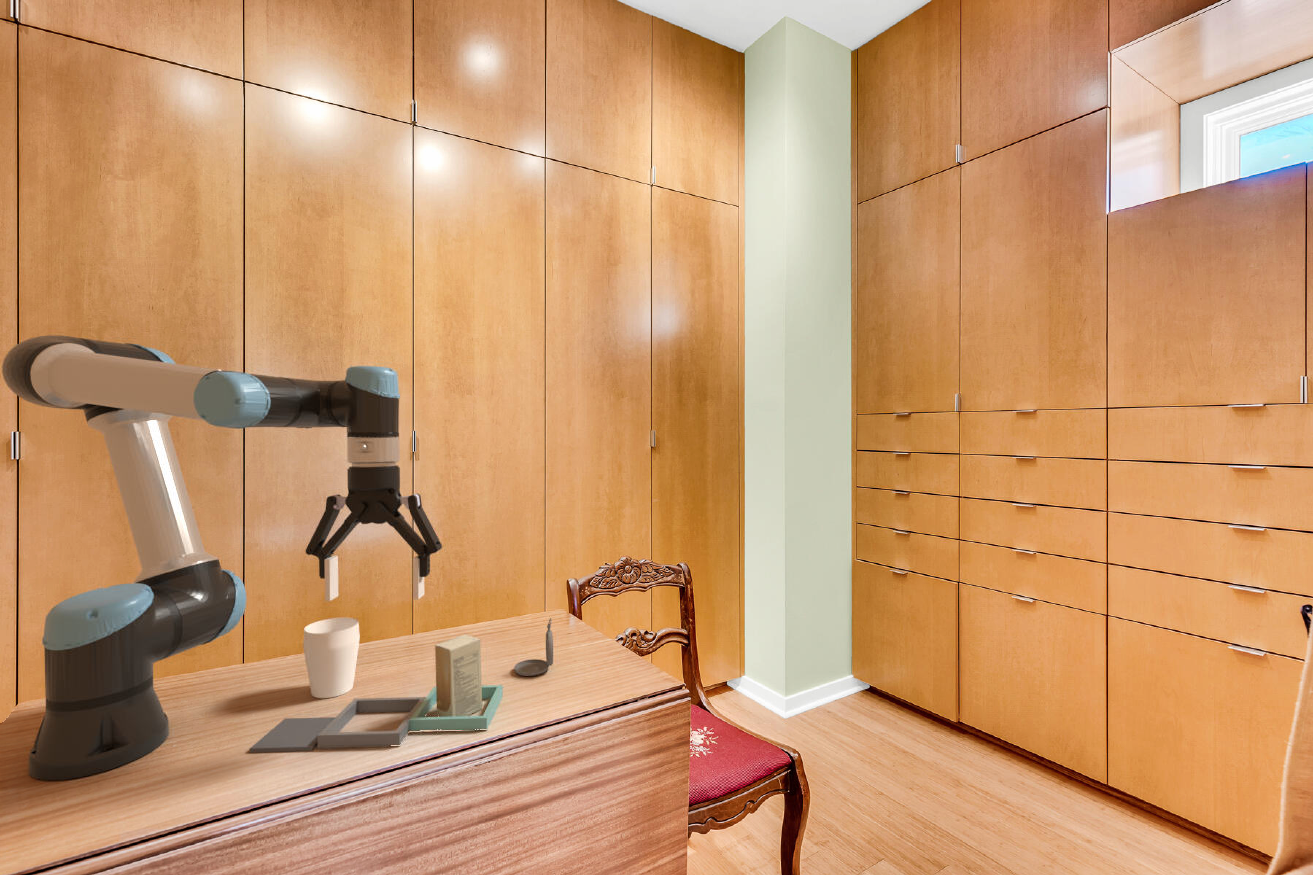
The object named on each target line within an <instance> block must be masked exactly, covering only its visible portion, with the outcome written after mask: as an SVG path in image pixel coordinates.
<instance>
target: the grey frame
mask: <svg viewBox="0 0 1313 875" xmlns="http://www.w3.org/2000/svg"><path fill="white" fill-rule="evenodd" d="M426 697H427V696H414V697H413V696H412V697H411V696H410V697H373V698H372V697H371V698H370V697H369V698H368V697H367V698H354V699H352V701H351V702H349V703H348V705H346V706H345V708H343V709H342V710H341V711H340V712H339V713H338V715H336V716H335V717H336V718H335V719H334V720H333V721H332V722H331V723H330V724H328V725H327V726H326V727H325V728H324V729H323V730H322V731H321V732H320V733H319V734H318V735H317V740H318V745H317V749H318V750H321V749H324V750H325V749H349V748H348V747H363V748H386V747H385V746H391V745H400V744H401V742H402V741H403V739H404V738H405V737H406V735H407V734H408V732H409V720H410V719H411V717H412V716H413V714H414V713H415V712H416V710H417V709H418V708H419V706H420V705H421V704H422V702H423V701H424V700H425V698H426ZM392 712H393V713H395V712H396V713H397V712H409V713H408V714H407V716H406V717H405V718H404V720H403V721H402V722H401V724H400V725H399V726H398V728H397V729H396V730H375V731H374V730H372V731H371V730H370V731H342V729H343V728H344V727H345V726H347V725H348V723H349V722H350V721H351V720H352V719H353V718H354V717H355V716H356V715H357V714H358V713H392ZM408 735H409V734H408ZM408 735H407V736H408ZM406 738H407V737H406ZM406 738H405V739H406ZM403 742H404V741H403ZM403 742H402V743H403ZM401 745H402V744H401ZM401 745H400V746H401ZM383 746H384V747H383Z"/></svg>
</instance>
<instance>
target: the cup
mask: <svg viewBox="0 0 1313 875" xmlns="http://www.w3.org/2000/svg"><path fill="white" fill-rule="evenodd" d="M359 624H360V622H359V620H358V619H356V618H353V617H334V618H326V619H322V620H319V621H314V622H312V623H310V624H308V625H306V626H305V627H304V629H303V643H302V646H303V647H302V648H303V654H304V659H305V665H306V670H307V675H308V676H307V677H308V682H309V687H310V693H311V696H312V697H314V698H317V699H329V698H336V697H339V696H342V695H344V694H347V693H348V692H350V691H351V690H352V689H353V688H354V682H355V675H356V668H357V661H358V659H357V658H358V654H359V646H360V638H361V637H360V625H359Z"/></svg>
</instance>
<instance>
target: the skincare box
mask: <svg viewBox="0 0 1313 875" xmlns="http://www.w3.org/2000/svg"><path fill="white" fill-rule="evenodd" d="M434 650H435V653H434V654H435V687H436V696H437V701H436V716H437V715H438V716H439V717H455V716H472V713H473V714H475V713H476V712H478V711H480V710H482V709H483V699H482V686H483V685H482V655H481V651H482V650H481V639H480V638H478V637H475V636H472V635H469V634H465V633H464V634H462V635H458V636H455V637H454V638H450V639H448V640H445V641H442V642H440V643H437V644H435V645H434Z"/></svg>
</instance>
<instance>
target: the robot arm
mask: <svg viewBox="0 0 1313 875" xmlns="http://www.w3.org/2000/svg"><path fill="white" fill-rule="evenodd" d="M1 374H2V377H3V380H4V382H5V384H6V386H7V387H8V388H9V389H10V390H11V391H12V392H13V394H16V395H17V396H18V397H19V398H21V399H23V400H24V401H26V402H28V403H31V404H33V405H36V406H40V407H45V408H46V407H47V408H51V409H61V410H65V409H66V410H81V411H83V414H84V416H85V420H86V423H87V426H88V427H89V428H90V429H93V430H95V431H98V432H100V433H101V434H102V435H103V438H104V442H105V446H106V448H107V449H106V450H107V452H108V455H109V459H110V462H111V465H112V466H111V467H112V470H113V472H114V477H115V480H116V483H117V487H118V491H119V494H120V497H121V502H122V503H123V504H122V505H123V508H124V511H125V515H126V518H127V522H128V524H129V528H130V532H131V535H132V536H131V537H132V539H133V543H134V546H135V549H136V552H137V556H138V560H139V563H140V565H141V566H140V567H141V570H140V572H139V573H138V575H137V576H136V577H135V579H134V580H133V582H132V583H122V584H115V585H111V586H108V587H107V586H106V587H100V588H96V589H95V588H94V589H92V590H88V591H85V592H82V593H78V594H76V595H73V596H70V597H69V598H65V599H64V600H63V601H61V602H59V603H57V604H55V605H54V606H53V607H52V608H51V609H50V610H49V611H48V613H47V615H46V616H45V619H44V620H45V622H44V628H43V636H42V638H41V640H42V646H43V648H44V649H43V650H44V651H43V652H44V691H45V713H44V715H43V719H42V721H41V724H40V726H39V728H38V731H37V734H36V737H35V741H34V744H33V746H32V747H31V749H30V750H29V751H30V752H29V753H28V754H29V755H28V774H29V775H30V776H31V778H34V779H37V780H41V781H61V780H63V781H65V780H70V779H77V778H82V777H87V776H90V775H96V774H98V773H99V774H100V773H103V772H106V771H109V770H113V769H115V768H118V767H121V766H124V765H126V764H128V763H129V764H130V763H131V762H134V761H136V760H137V759H140V758H142V757H144V756H145V755H147V754H150V753H151V752H153V751H154V750H156V749H157V748H159V747H160V746H162V744H164V742H166V740H167V739H168V738H169V735H170V723H169V722H170V721H169V717H168V715H167V714H166V713H165V712H164V709H163V707H162V704H161V701H160V699H159V697H158V694H157V693H156V690H155V687H154V664H155V663H157V662H159V661H162V660H165V659H168V658H170V657H173V656H176V655H178V654H181V653H183V652H186V651H188V650H191V649H193V648H197V647H200V646H202V645H206V644H208V643H209V644H210V643H212V642H213V641H215V640H216V639H218V638H220V637H222V636H225V635H226V634H228V633H230V632H231V631H232V630H234V628H236V627H237V626H238V624H239V623H240V620H241V618H242V617H243V616H244V613H245V610H246V608H247V607H246V606H247V591H246V587H245V585H244V582H243V581H242V579H241V577H239V576H238V575H236V573H235V572H233V571H232V570H229V569H224V568H222V567H221V563H220V559H219V557H217V556H215V555H212V554H210V553H208V552H206V551H205V547H204V544H203V540H202V537H201V534H200V530H199V526H198V524H197V520H196V516H195V513H194V509H193V506H192V503H191V499H190V496H189V492H188V490H187V485H186V482H185V479H184V476H183V472H182V469H181V465H180V462H179V458H178V455H177V451H176V449H175V444H174V442H173V438H172V434H171V432H170V427H169V425H168V423H169V422H170V420H171V419H172V418H173V417H177V418H178V417H179V418H185V419H191V420H199V421H205V422H206V423H207V424H208V425H211V426H213V427H220V428H227V429H247V428H297V429H312V428H346V438H347V439H346V440H347V441H346V442H347V443H346V446H347V450H346V451H347V452H346V453H347V454H346V457H347V459H346V460H347V462H348V463H349V464H351V466H349V467H348V468H347V472H346V473H347V476H346V477H347V491H348V492H347V496H342V495H340V494H338V493H337V494H333V495H329V496H328V497H326V500H325V501H326V502H325V510H324V512H323V515H322V516H321V518H320V520H319V523H318V524H317V526H316V528H315V529H314V530H315V531H314V532H313V534H312V536H311V539H310V540H309V543H308V545H307V547H306V549H305V554H306V555H308V556H314V557H317V559H318V572H319V574H318V576H319V578H320V580H321V579H324V601H325V602H330V601H333V600H334V599H336V598H337V597H339V555H334V554H335V552H336V550H337V549H338V548H339V547H340V546H341V545H342V543H343V542H344V541H345V540H346V539H347V537H348V536H349V535H350V534H351V532H353V530H354V529H355V528H356V527H357V526H358V525H359V524H360V523H361V525H368V524H371V523H372V524H376V525H383V524H385V523H387V524H388V525H389V527H392V528H393V529H394V530H395V531H396V532H397V533H398V534H399V535H400V537H401V538H402V539H403V541H405V542H406V544H407V545H408V546H409V547H410V548H411V549H412V550H413V552H415V554H416V555H417V556H414V557H413V559H412V562H413V563H412V565H413V567H412V569H413V570H412V575H413V576H412V578H413V582H412V583H413V586H412V587H413V600H419V599H421V598H422V597H423V596H425V578H426V577H428V576H429V575H430V572H431V560H430V559H431V555H433V554H436V553H437V552H439V551H440V550H442V549H443V544H442V542H441V541H440V538H439V537H438V535H437V533H436V531H435V529H434V527H433V526H432V524H431V521H430V520H429V518H428V515H427V514H426V512H425V510H424V509H423V505H422V504H423V503H422V497H421V494H420V493H414V494H411V495H406V496H402V494H401V490H400V489H401V468H400V467H399V465H397V463H398V462H400V460H401V458H400V457H401V456H400V451H401V450H400V432H399V430H400V429H399V426H400V425H399V424H400V416H399V415H400V398H401V394H400V390H399V389H400V388H399V378H398V376H399V375H398V373H397V371H396V370H394V369H393V368H391V367H386V366H376V365H374V366H372V365H356V366H349V367H348V368H347V369H346V373H345V377H344V379H342V380H315V379H314V380H313V379H312V380H311V379H304V378H293V377H285V376H284V377H283V376H273V375H272V376H271V375H264V374H263V375H262V374H257V373H256V374H255V373H247V372H242V371H234V370H222V369H216V368H209V367H201V366H194V365H193V366H192V365H187V364H178V363H176V362H175V361H174V360H173V359H172V358H171V356H169V355H168V354H166V353H165V352H162V351H161V350H158V349H157V348H153V347H147V346H143V345H141V344H135V343H128V342H127V343H126V342H124V343H121V342H113V341H105V340H96V339H89V338H83V337H76V336H68V335H54V334H52V335H39V336H36V337H31V338H28V339H25V340H22V341H21V342H19V343H17V344H16V345H14V346H13V347H12V348H11V349H10V350H9V351H8V353H7V354H6V355H5V357H4V359H3V360H2V364H1ZM402 505H404V507H405V508H406V509H407V510H409V513H410V516H411V518H412V519H413V522H414V523H415V526H416V527H417V529H418V531H419V533H420V534H421V537H420V535H419V534H418V532H416V530H415V529H414V528H413V527H412V526H411V525H410V524H409V523H408V521H406V518H405V516H404V515H403V514H402V513H401V512H400V511H399V509H400V507H401V506H402ZM345 506H346V507H347V508H348V510H349V511H350V513H349V515H348V516H347V517H346V518H345V519H344V520H343V522H342V524H341V525H340V526H339V527H338V529H337V530H336V531H335V532H334V533H333V535H332V536H331V537H330V538H329V539H328V541H327V542H326V540H327V538H328V537H329V534H330V533H331V530H332V528H333V526H334V525H335V522H336V520H337V518H338V517H339V515H340V514H339V513H340V511H341V510H342V509H344V507H345ZM325 542H326V543H325Z"/></svg>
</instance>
